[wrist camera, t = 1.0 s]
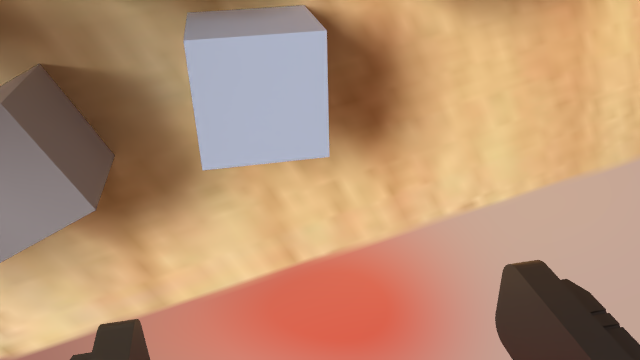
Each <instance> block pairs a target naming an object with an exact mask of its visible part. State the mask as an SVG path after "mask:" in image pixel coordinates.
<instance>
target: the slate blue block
mask: <svg viewBox="0 0 640 360" xmlns="http://www.w3.org/2000/svg"><path fill="white" fill-rule="evenodd" d="M184 47H185V54H186V61H187V68H188V75H189V82H190V88H191V95H192V102H193V109H194V116H195V122H196V129H197V136H198V143H199V150H200V157H201V163H202V170H211V169H220V168H230V167H239V166H248V165H257V164H267V163H276V162H285V161H295V160H304V159H313V158H323V157H329V115H328V65H327V30H326V29H325V28H324V27H323V26H322V24H321V23H320V22H319V21H318V20H317V19H316V18H315V17H314V16H313V14H312V13H311V12H310V11H309V10H308V9H307V8H306V7H305V5H301V6H285V7H269V8H253V9H237V10H221V11H205V12H189V13H187V19H186V26H185V33H184Z"/></svg>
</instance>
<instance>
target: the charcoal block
mask: <svg viewBox="0 0 640 360" xmlns="http://www.w3.org/2000/svg"><path fill="white" fill-rule="evenodd" d="M114 157H115V155H114V154H113V153H112V152H111V150H110V149H109V148H108V147H107V145H106V144H105V143H104V142H103V141H102V139H101V138H100V137H99V136H98V134H97V133H96V132H95V131H94V130H93V128H92V127H91V126H90V125H89V123H88V122H87V121H86V120H85V118H84V117H83V116H82V115H81V114H80V112H79V111H78V110H77V109H76V107H75V106H74V105H73V104H72V103H71V101H70V100H69V99H68V98H67V96H66V95H65V94H64V93H63V91H62V90H61V89H60V88H59V87H58V85H57V84H56V83H55V82H54V80H53V79H52V78H51V77H50V76H49V74H48V73H47V72H46V71H45V69H44V68H43V67H42V66H41V64H38V65H36V66H35V67H33V68H31V69H29V70H28V71H26V72H24V73H22V74H21V75H19V76H17V77H15V78H14V79H12V80H10V81H9V82H7V83H5V84H3V85H2V86H0V263H1V262H3V261H4V260H6V259H8V258H10V257H12V256H13V255H15V254H17V253H19V252H21V251H22V250H24V249H26V248H28V247H30V246H32V245H33V244H35V243H37V242H39V241H41V240H42V239H44V238H46V237H48V236H50V235H52V234H53V233H55V232H57V231H59V230H61V229H62V228H64V227H66V226H68V225H70V224H71V223H73V222H75V221H77V220H79V219H81V218H82V217H84V216H86V215H88V214H90V213H91V212H93V211H95V210H96V208H97V205H98V203H99V200H100V197H101V194H102V191H103V188H104V185H105V182H106V180H107V177H108V174H109V171H110V168H111V165H112V162H113V160H114Z"/></svg>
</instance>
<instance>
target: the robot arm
mask: <svg viewBox="0 0 640 360" xmlns="http://www.w3.org/2000/svg"><path fill="white" fill-rule="evenodd" d="M495 321H496V328H497V332H498V335H499V338H500V340H501V342H502V344H503V345H504V347H505V348H506V350H507V352H508V353H509V354H510V356H511V358H512V359H513V360H640V345H639V344H638V343H637V341H636V340H635V339H634V338H633V337H631V335H630V334H629V333H628V332H627V331H626V330H625V329H624V328H623V327H620V326H619V323H618V322H617V321H616V320H615V319H614V317H612V316H611V314H610V313H606V309H605V308H604V307H603V306H602V305H601V304H600V303H599V302H598V301H597V300H596V299H595V298H594V297H593V296H592V295H591V293H590V292H588V291H586V290H584V289H583V288H581V287H580V286H578V285H576V284H575V283H573V282H571V281H570V280H568V279H563V280H560V279H559V278H558V277H557V276H556V275H555V274H554V273H553V272H552V270H551V269H550V268H549V267H548V266H547V265H546V264H545V263H544V262H542V261H540V260H534V261H528V262H521V263H514V264H508V265H506V266H505V267H504V269H503V273H502V279H501V285H500V291H499V297H498V303H497V310H496V317H495ZM70 360H150V357H149V354H148V349H147V346H146V342H145V338H144V334H143V330H142V326H141V323H140V321H139V320H138V319H134V320H127V321H121V322H114V323H107V324H101V325H100V326H99V327H98V330H97V334H96V338H95V342H94V346H93V350H92V352H91V353H85V354H78V355H73V356H72V358H71V359H70Z"/></svg>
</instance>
